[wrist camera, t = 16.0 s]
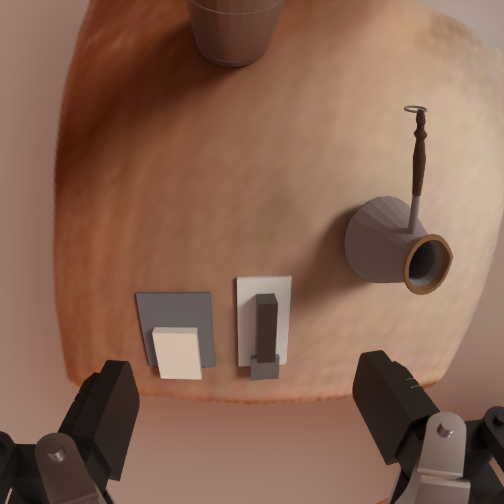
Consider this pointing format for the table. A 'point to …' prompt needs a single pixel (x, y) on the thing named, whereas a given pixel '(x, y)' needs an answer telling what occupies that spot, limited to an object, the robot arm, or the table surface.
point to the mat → (177, 319)
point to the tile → (177, 352)
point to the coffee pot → (398, 235)
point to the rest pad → (247, 313)
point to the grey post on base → (265, 339)
